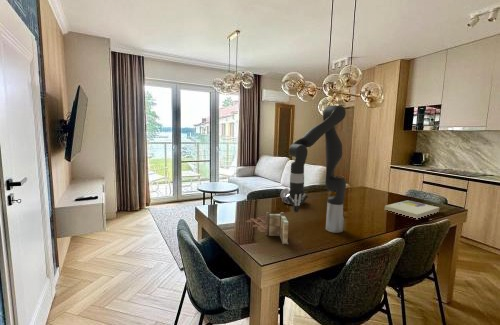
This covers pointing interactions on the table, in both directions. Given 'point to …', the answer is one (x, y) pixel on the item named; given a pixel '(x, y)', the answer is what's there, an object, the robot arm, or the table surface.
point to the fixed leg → (273, 223)
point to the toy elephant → (284, 193)
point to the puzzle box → (412, 209)
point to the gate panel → (284, 229)
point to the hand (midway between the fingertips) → (296, 211)
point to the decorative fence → (259, 223)
